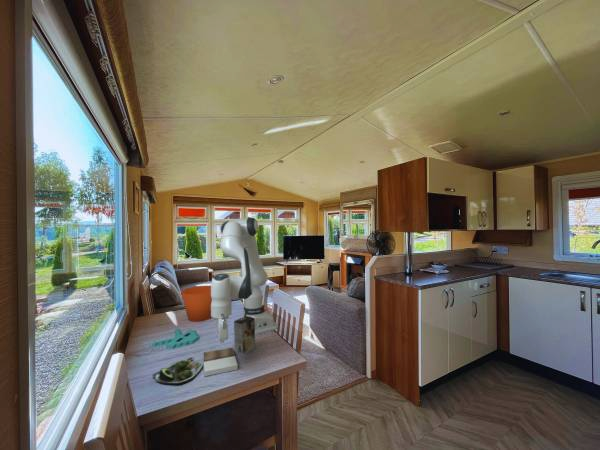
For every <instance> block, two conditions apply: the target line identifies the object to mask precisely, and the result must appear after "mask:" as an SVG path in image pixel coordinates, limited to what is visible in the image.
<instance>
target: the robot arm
mask: <svg viewBox="0 0 600 450" xmlns="http://www.w3.org/2000/svg"><path fill="white" fill-rule="evenodd" d="M221 224H222V225H221V226H220V233H221V237H220V243H219V245H220V246H219V247H220V250H221V253H223V255H225V256H226V257H228V258H230V259H234V260H236V261H239V262H240V264H241V270H240V271H239V276H240V277H231V276H230V275H229V274H227V273H218V274H215V275H213V276H212V277H211V278H212V279H211V285H210V286H211V298H212V302H211V317H212V318H213V319H214V321H215V326H216V331H217V335H218V336H217V337H218V341H219V344H223V343H225V341H226V340H228V339H229V324H228V319H229V318H230V316H231V315H232V313H233V311H232V299H240V300H244V306H243V317H245V316H248V317H252V318H255V335H258V334H262V333H263V334H264V333H267V332H271V331H276V330H277V329H279V326H278V323H277V322H276V321H275V319H274V316H273V315H272V314H270V313H269V312H268V308H267V306H265V305H264V304H263V291H262V290H261V287H262V286H264V285H265V284H267V283H268V282H267V281H268V279H269V277H268V273H267V272H266V270H265V268H264V266H263V263H262V260H261V258H260V254H259V249H258V244H257V239H256V235H257V233H258V232H259V223H258V221H257V219H255V217H246V218H245V217H242V218H237V219H233V220H227V221H225V222H223V223H221Z"/></svg>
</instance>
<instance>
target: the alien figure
mask: <svg viewBox="0 0 600 450" xmlns="http://www.w3.org/2000/svg"><path fill="white" fill-rule="evenodd" d="M173 333H174V335H175V336H173V337H171V338H166V339H160V340H159V341H153V342H152V343H151V347H152V348H155V347H157V345H158V346H163V345H165V348H166V349H170V348H171V349H172V350H174V349H176V348H181V347H183V346H184V345H186V346H188V345H193V344H195V343H196V342H197V341H199V340H200V335H199V333H198V332H197V330H195V329H188V330H187V331H186V332H184V333H182V332H181V329H180V328H175V329H174V330H173ZM198 339H199V340H198ZM194 342H195V343H194ZM187 344H188V345H187ZM180 346H181V347H180ZM171 349H170V350H171Z"/></svg>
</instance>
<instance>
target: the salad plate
mask: <svg viewBox="0 0 600 450" xmlns="http://www.w3.org/2000/svg"><path fill="white" fill-rule="evenodd" d="M193 359H194V358H193V357H189V358H185V359H182V360H179V361H178V360H177V361H176V362H171V363H170V364H169V365H167V366H166V367H162V368H160V370H159V371H157V372H155V373H154V374H152V375H151V377H153V378H155V381H156V383H158V384H160V385H163V386H173V387H175V386H181V385H185V384H187V383H189V382H190V381H192V380H193V379H194V378H195V377H196V375H197V374H199V372H200V371H201V370H202V369H203V364H202V362H200V361H199V362H198V361H192V360H193ZM192 369H195V371H192Z"/></svg>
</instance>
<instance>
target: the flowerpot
mask: <svg viewBox="0 0 600 450" xmlns="http://www.w3.org/2000/svg"><path fill="white" fill-rule="evenodd" d="M180 293H181V296H182V301H183V305H184V308H185V311H186V312H185V313H186V316H187V320H188V321H189V322H193V323H200V322H205V321H208V320H210V319H212V318H213V317H211V302H212V298H211V285H197V286H191V287H187V288H183V289H182V290H181V291H180Z"/></svg>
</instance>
